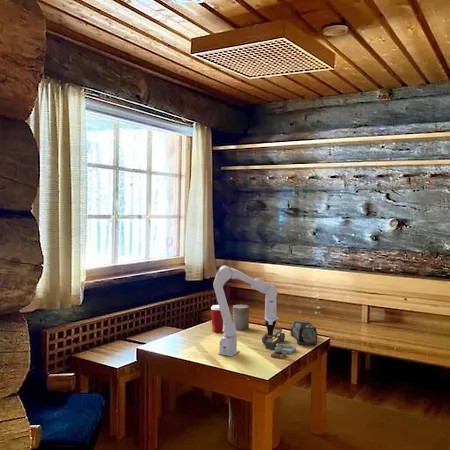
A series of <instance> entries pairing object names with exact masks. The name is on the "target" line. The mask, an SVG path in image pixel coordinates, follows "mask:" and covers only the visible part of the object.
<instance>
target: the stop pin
mask: <svg viewBox="0 0 450 450" xmlns="http://www.w3.org/2000/svg"><path fill="white" fill-rule="evenodd" d="M281 344H282V343H279V344H277V346H276V354H279V355H281Z"/></svg>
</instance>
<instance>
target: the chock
mask: <svg viewBox="0 0 450 450" xmlns="http://www.w3.org/2000/svg"><path fill="white" fill-rule="evenodd" d="M277 344H278V338H276V339H274V337H273V338H270V339H268V340H267V341H265V343H264V345H265V348H264V349H266V350H271V351H275V347H276V346H277Z"/></svg>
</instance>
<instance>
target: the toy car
mask: <svg viewBox="0 0 450 450" xmlns="http://www.w3.org/2000/svg"><path fill="white" fill-rule="evenodd" d="M289 331H290V336H291V337H294V339H295V340H296V344H297V345H298V346H299V345H317V344H318V338H319V337H318V332H317V328H316V326H314V324H313V323H311V322H310V320H293V322H292V323H291V324H290V325H289Z"/></svg>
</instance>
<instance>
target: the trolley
mask: <svg viewBox="0 0 450 450" xmlns="http://www.w3.org/2000/svg"><path fill="white" fill-rule="evenodd" d="M282 329H283V327H282V326H276V325H275V327H274V330H273V335H272V336H268V332H266V333H263V334H262V336H261V342H262V343H264V344H265V341H267V340H268V339H270V338H273V339H276V338H278V344H280V342H285V341H284V340H285V337H286V333H284V332H283V331H282Z"/></svg>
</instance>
